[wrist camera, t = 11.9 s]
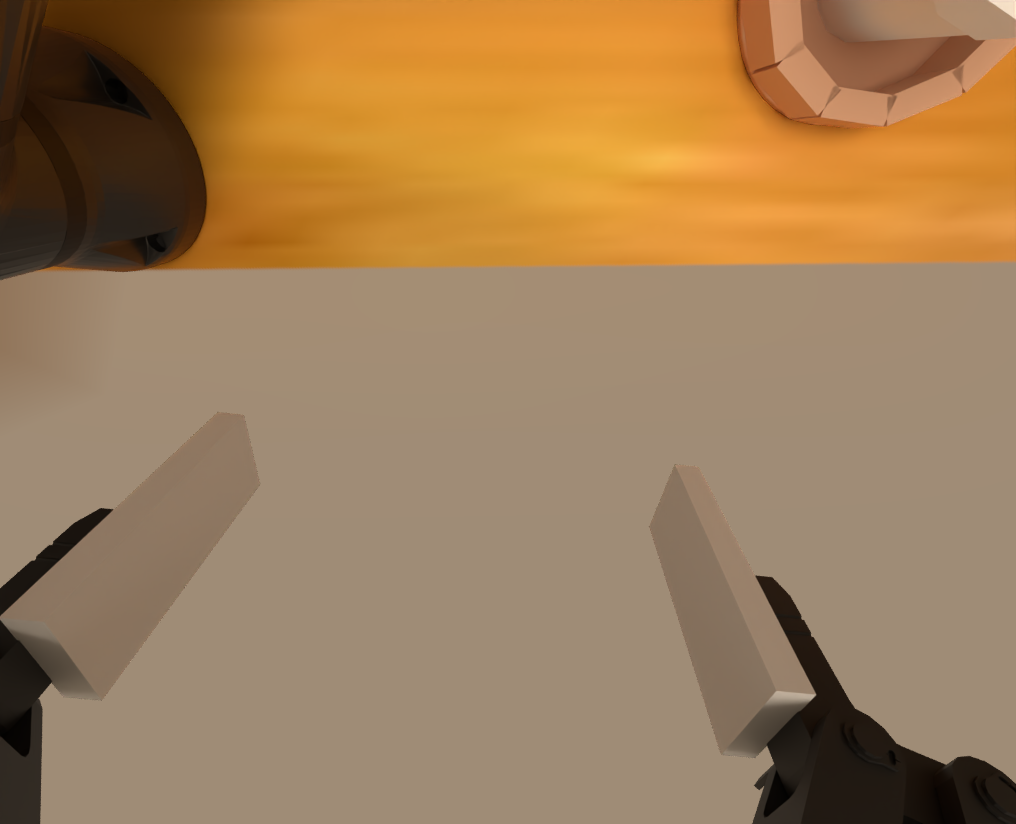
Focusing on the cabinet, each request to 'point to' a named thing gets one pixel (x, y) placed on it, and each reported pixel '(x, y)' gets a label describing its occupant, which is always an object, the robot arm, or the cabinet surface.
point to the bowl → (853, 67)
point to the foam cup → (918, 19)
